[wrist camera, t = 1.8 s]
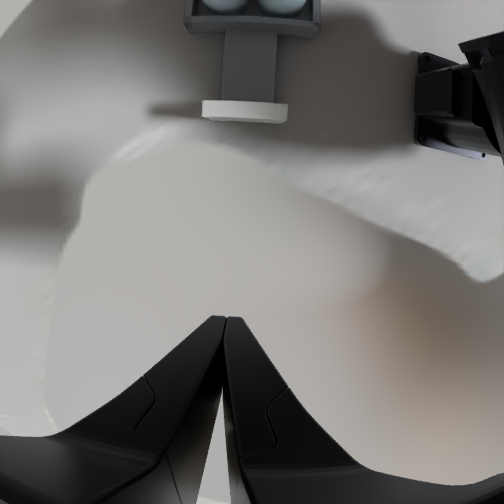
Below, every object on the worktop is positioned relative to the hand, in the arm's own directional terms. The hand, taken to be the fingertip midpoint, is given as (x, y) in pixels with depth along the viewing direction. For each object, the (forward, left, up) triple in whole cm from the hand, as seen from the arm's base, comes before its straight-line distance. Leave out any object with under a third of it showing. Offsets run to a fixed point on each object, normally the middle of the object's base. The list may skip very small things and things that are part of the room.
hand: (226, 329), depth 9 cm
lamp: (0, -11, -12) cm, 16 cm away
